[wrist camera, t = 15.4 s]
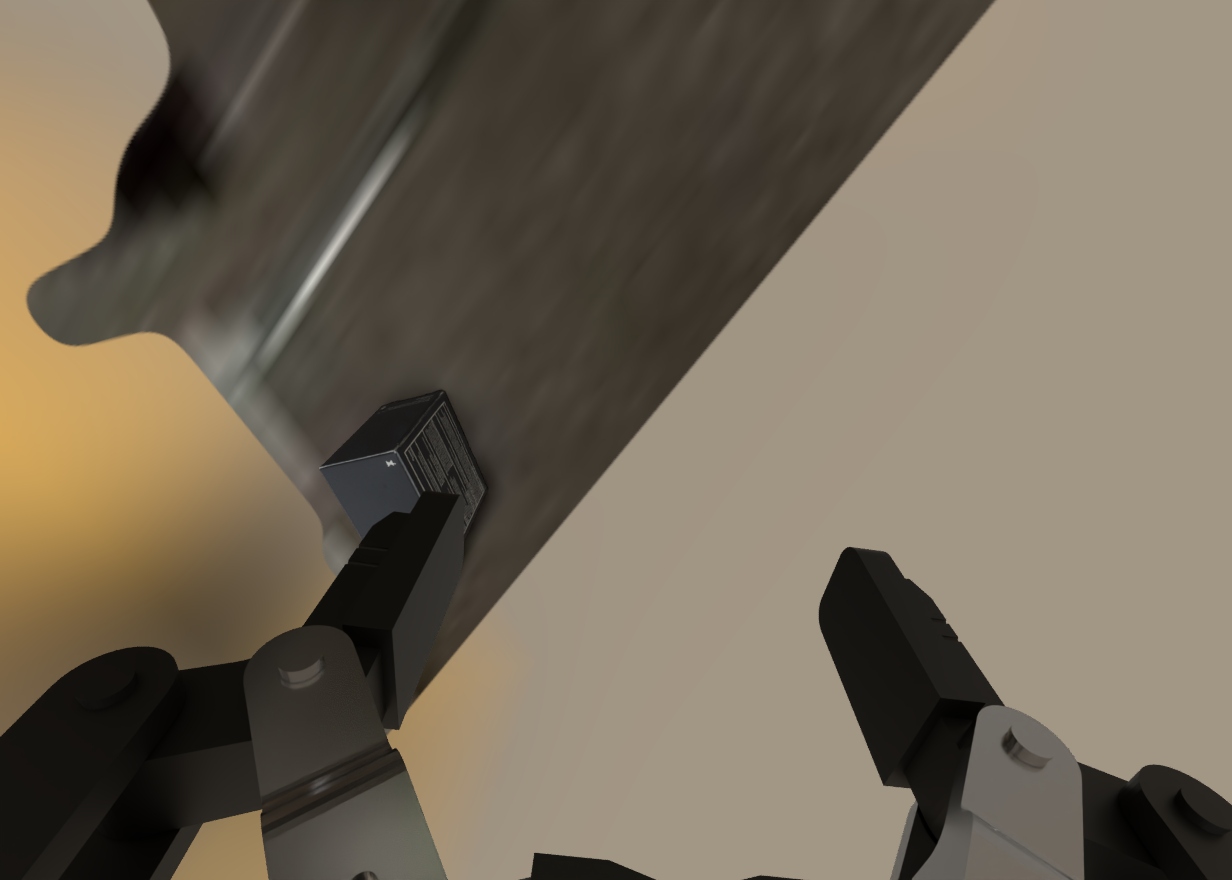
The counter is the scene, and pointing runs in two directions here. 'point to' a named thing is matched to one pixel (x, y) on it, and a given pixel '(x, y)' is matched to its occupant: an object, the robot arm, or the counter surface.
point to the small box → (404, 462)
